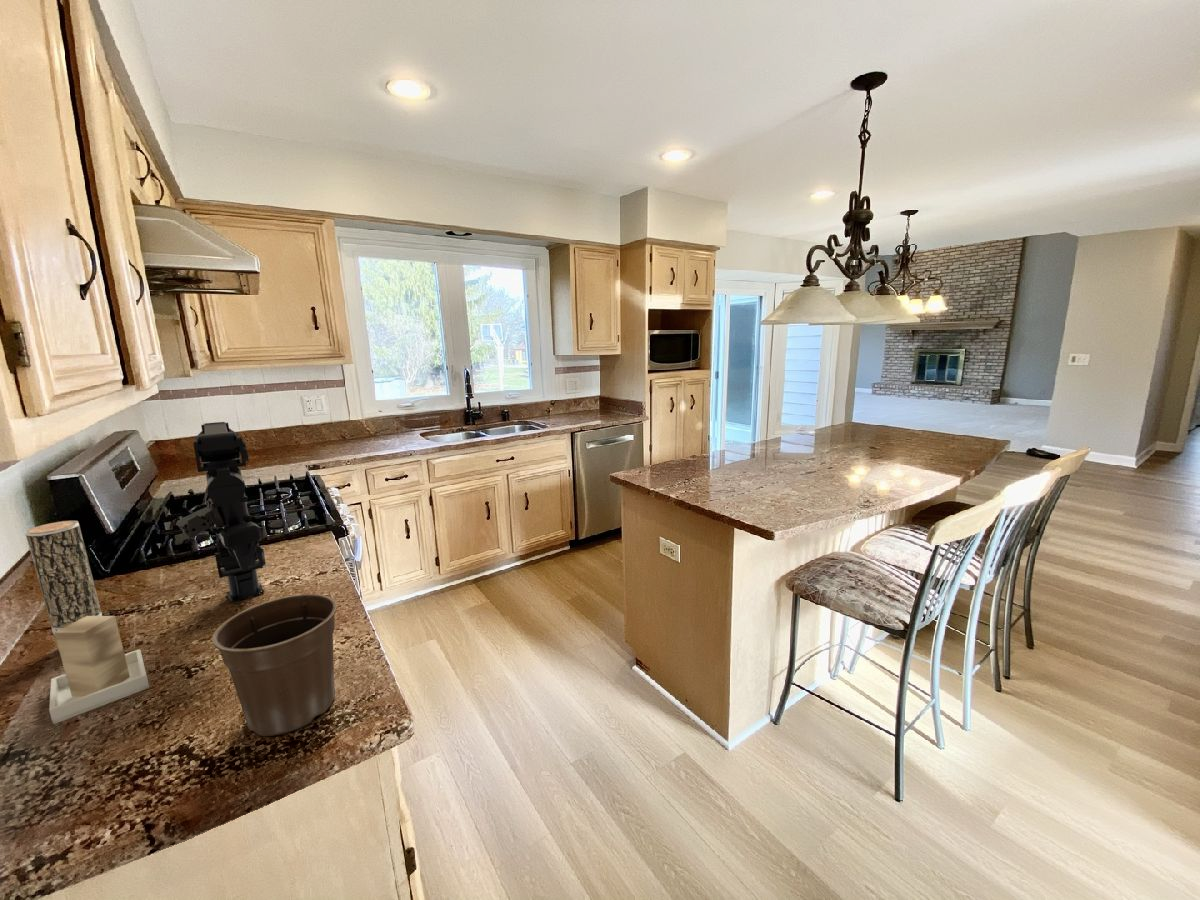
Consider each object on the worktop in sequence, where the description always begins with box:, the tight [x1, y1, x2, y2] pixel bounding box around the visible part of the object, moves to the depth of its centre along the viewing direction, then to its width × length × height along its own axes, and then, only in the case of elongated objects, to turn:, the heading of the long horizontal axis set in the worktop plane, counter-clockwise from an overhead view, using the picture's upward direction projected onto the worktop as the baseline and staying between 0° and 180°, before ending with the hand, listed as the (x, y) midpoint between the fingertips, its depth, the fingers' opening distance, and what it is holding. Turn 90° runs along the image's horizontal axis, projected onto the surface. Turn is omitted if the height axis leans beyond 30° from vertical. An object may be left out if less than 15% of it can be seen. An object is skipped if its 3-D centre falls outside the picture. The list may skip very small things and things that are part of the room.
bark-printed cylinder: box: [25, 520, 103, 652], centre depth 94 cm, size 7×7×25 cm
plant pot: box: [211, 593, 338, 737], centre depth 77 cm, size 16×16×16 cm
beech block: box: [54, 615, 130, 697], centre depth 82 cm, size 5×5×12 cm
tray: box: [48, 648, 150, 725], centre depth 83 cm, size 11×11×2 cm
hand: (239, 563), depth 102 cm, fingers open, 9 cm apart
